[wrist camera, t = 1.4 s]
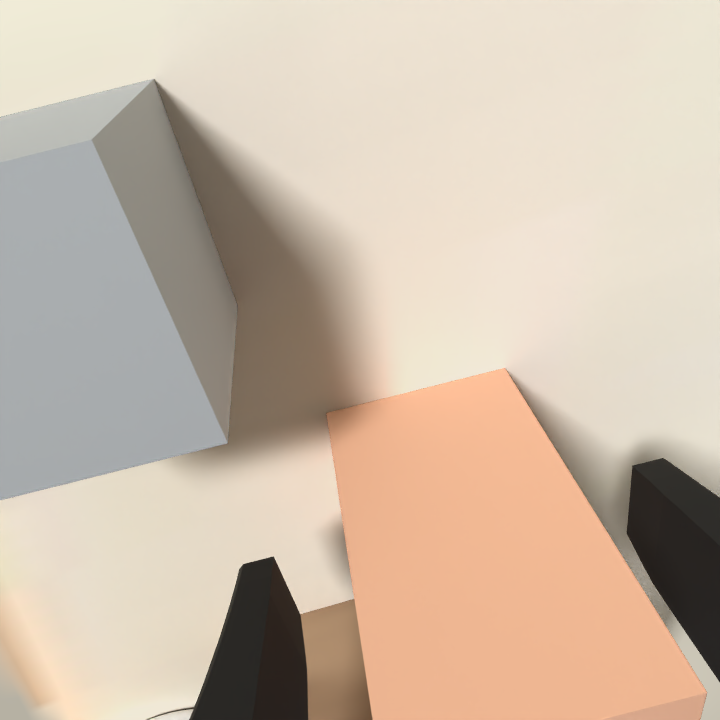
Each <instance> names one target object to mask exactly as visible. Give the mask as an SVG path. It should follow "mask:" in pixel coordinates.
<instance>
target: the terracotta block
mask: <svg viewBox="0 0 720 720" xmlns="http://www.w3.org/2000/svg"><path fill="white" fill-rule="evenodd" d="M326 414H327V421H328V428H329V434H330V441H331V447H332V454H333V461H334V467H335V474H336V481H337V487H338V494H339V500H340V507H341V514H342V520H343V527H344V534H345V540H346V547H347V553H348V560H349V567H350V573H351V580H352V587H353V593H354V600H355V606H356V613H357V620H358V626H359V633H360V640H361V646H362V653H363V659H364V666H365V673H366V679H367V686H368V693H369V699H370V706H371V712H372V719H373V720H700V719H701V715H702V711H703V707H704V703H705V699H706V695H707V692H706V690H705V688H704V687H703V685H702V683H701V682H700V680H699V679H698V677H697V675H696V674H695V672H694V671H693V669H692V667H691V666H690V664H689V662H688V661H687V659H686V658H685V656H684V654H683V653H682V651H681V650H680V648H679V646H678V645H677V643H676V642H675V640H674V638H673V637H672V635H671V634H670V632H669V630H668V629H667V627H666V626H665V624H664V622H663V621H662V619H661V618H660V616H659V614H658V613H657V611H656V610H655V608H654V606H653V605H652V603H651V602H650V600H649V598H648V597H647V595H646V594H645V592H644V590H643V589H642V587H641V586H640V584H639V582H638V581H637V579H636V577H635V576H634V574H633V573H632V571H631V569H630V568H629V566H628V565H627V563H626V561H625V560H624V558H623V557H622V555H621V553H620V552H619V550H618V549H617V547H616V545H615V544H614V542H613V541H612V539H611V537H610V536H609V534H608V533H607V531H606V529H605V528H604V526H603V525H602V523H601V521H600V520H599V518H598V517H597V515H596V513H595V512H594V510H593V509H592V507H591V505H590V504H589V502H588V501H587V499H586V497H585V496H584V494H583V493H582V491H581V489H580V488H579V486H578V484H577V483H576V481H575V480H574V478H573V476H572V475H571V473H570V472H569V470H568V468H567V467H566V465H565V464H564V462H563V460H562V459H561V457H560V456H559V454H558V452H557V451H556V449H555V448H554V446H553V444H552V443H551V441H550V440H549V438H548V436H547V435H546V433H545V432H544V430H543V428H542V427H541V425H540V424H539V422H538V420H537V419H536V417H535V416H534V414H533V412H532V411H531V409H530V408H529V406H528V404H527V403H526V401H525V399H524V398H523V396H522V395H521V393H520V391H519V390H518V388H517V387H516V385H515V383H514V382H513V380H512V379H511V377H510V375H509V374H508V372H507V371H506V369H505V368H503V369H499V370H495V371H491V372H487V373H483V374H479V375H475V376H471V377H467V378H463V379H459V380H455V381H451V382H447V383H443V384H439V385H435V386H431V387H427V388H423V389H420V390H416V391H412V392H408V393H404V394H400V395H396V396H392V397H388V398H384V399H380V400H376V401H372V402H368V403H364V404H360V405H356V406H352V407H348V408H344V409H340V410H336V411H332V412H328V413H326Z"/></svg>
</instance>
